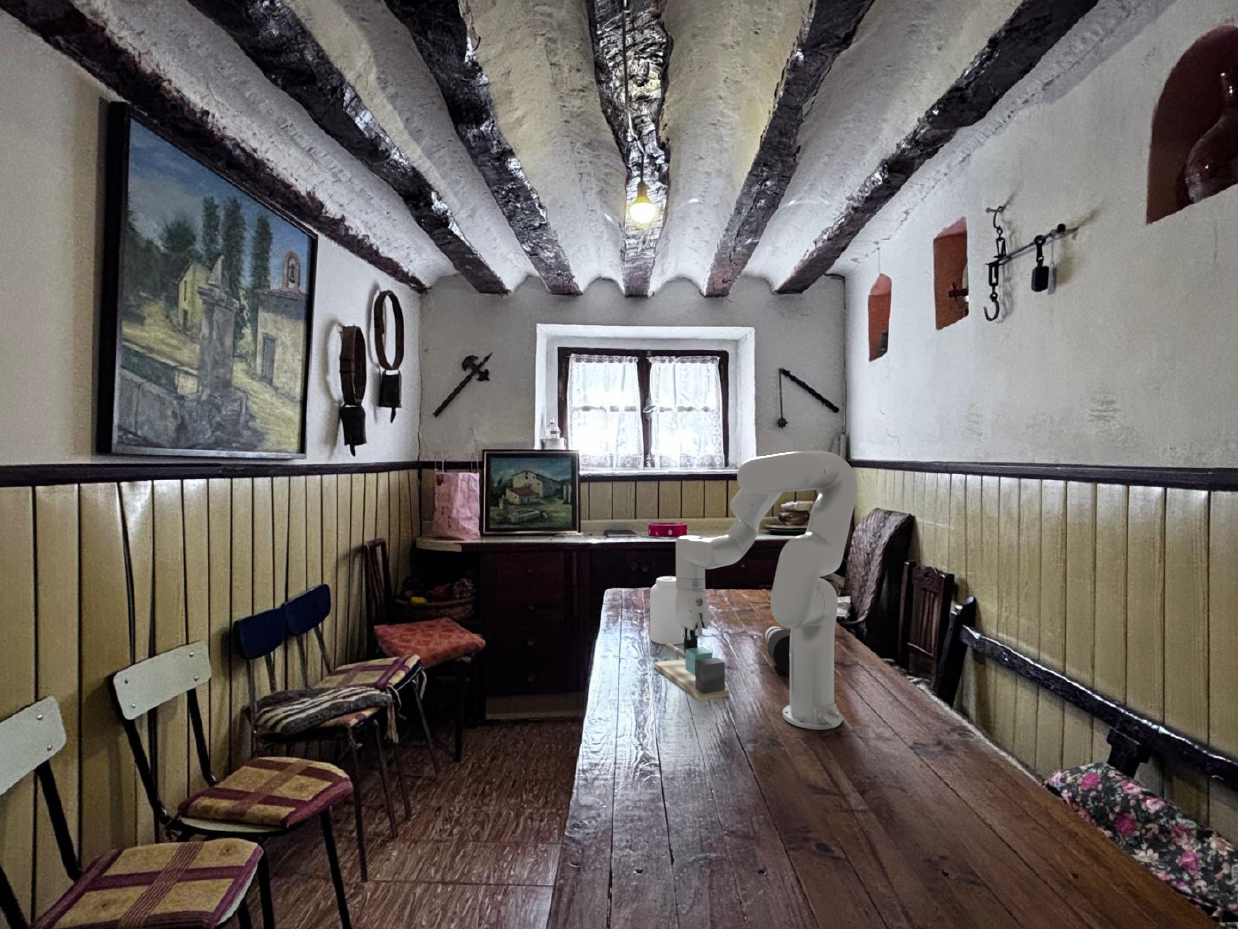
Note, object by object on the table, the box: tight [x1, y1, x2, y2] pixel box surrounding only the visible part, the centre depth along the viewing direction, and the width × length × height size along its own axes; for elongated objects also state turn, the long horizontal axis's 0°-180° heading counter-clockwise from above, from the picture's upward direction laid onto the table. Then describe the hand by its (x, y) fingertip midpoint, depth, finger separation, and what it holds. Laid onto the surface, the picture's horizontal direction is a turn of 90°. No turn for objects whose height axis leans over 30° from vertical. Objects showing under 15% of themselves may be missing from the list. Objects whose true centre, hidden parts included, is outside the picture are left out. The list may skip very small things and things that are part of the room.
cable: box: [764, 625, 791, 675], centre depth 190 cm, size 10×34×10 cm, turn 173°
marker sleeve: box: [685, 646, 713, 676], centre depth 165 cm, size 5×5×5 cm
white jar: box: [649, 575, 684, 646], centre depth 208 cm, size 12×12×20 cm
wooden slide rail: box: [653, 643, 729, 702], centre depth 170 cm, size 26×8×8 cm, turn 22°
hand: (690, 653), depth 169 cm, fingers closed
